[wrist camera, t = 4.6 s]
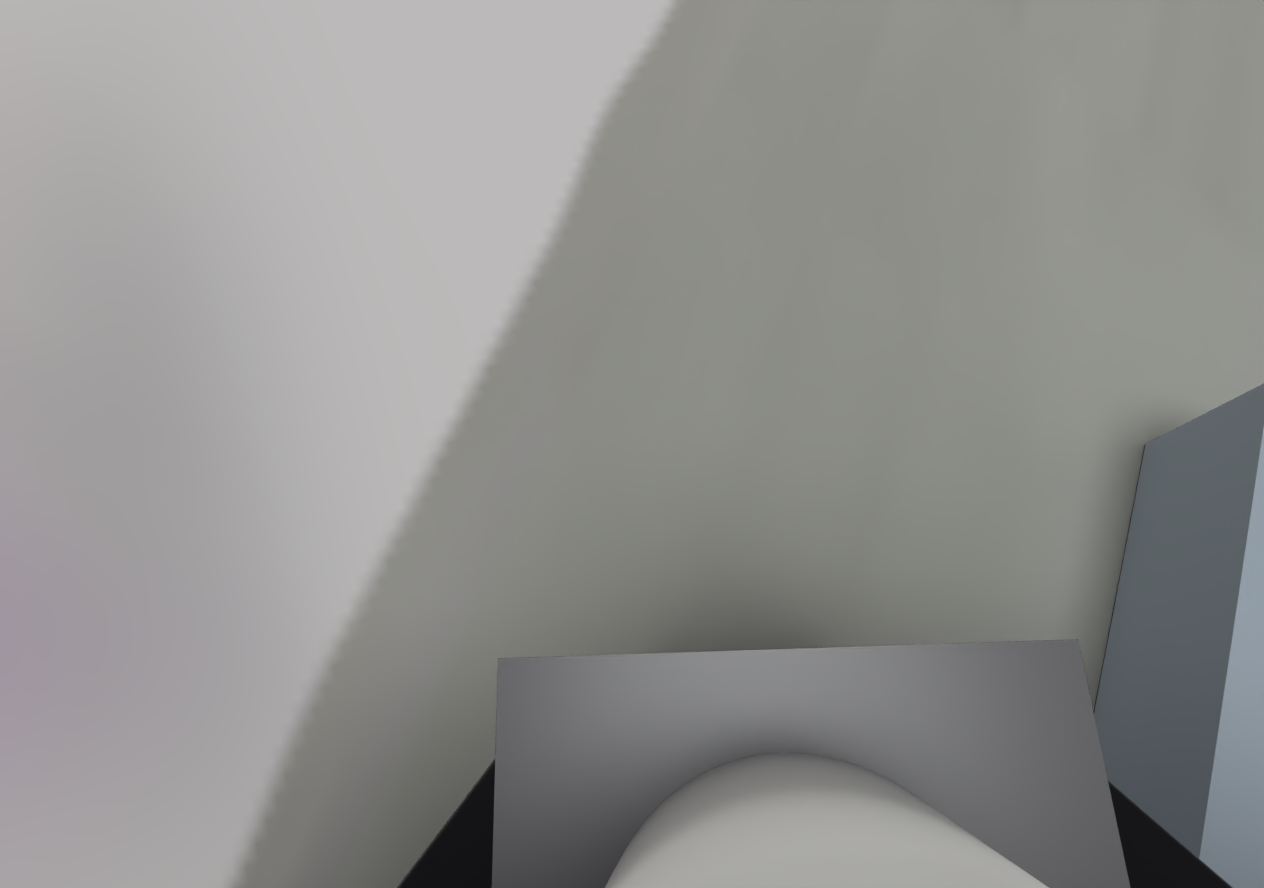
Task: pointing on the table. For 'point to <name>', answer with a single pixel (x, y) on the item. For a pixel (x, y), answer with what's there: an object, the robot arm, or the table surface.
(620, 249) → the table surface
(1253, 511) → the socket block
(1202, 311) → the table surface
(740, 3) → the table surface
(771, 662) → the plug
